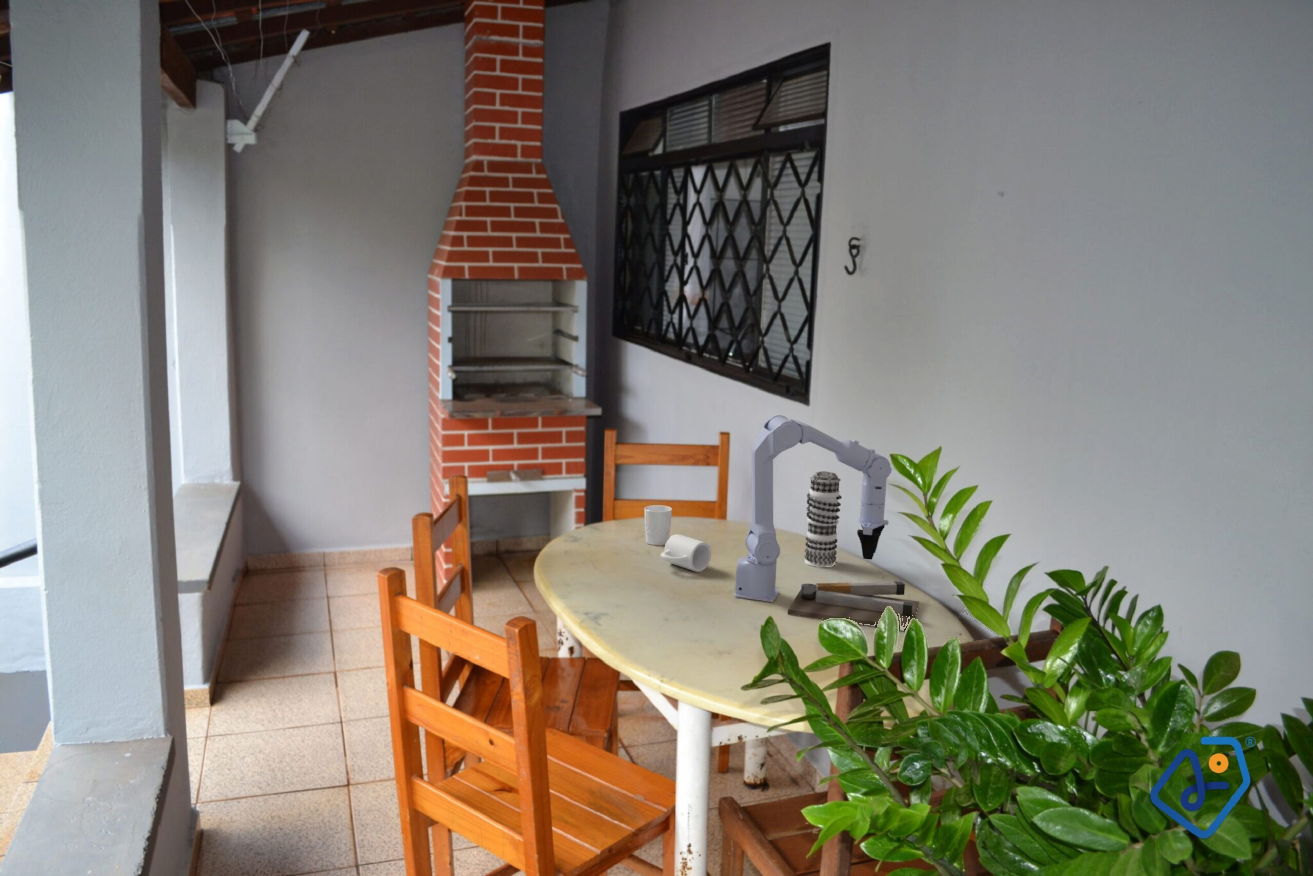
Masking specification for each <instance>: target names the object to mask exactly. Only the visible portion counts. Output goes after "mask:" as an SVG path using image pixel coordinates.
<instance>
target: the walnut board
mask: <svg viewBox="0 0 1313 876" xmlns="http://www.w3.org/2000/svg"><path fill="white" fill-rule="evenodd" d="M858 596H864V597H872V598H879V599H886V600H894V601H901V602H909V603H913V608H912V615H913V616H910V619H908V624H909V622H910V620H911V619H912V618H915V619H916V618H917V614H916V612H917V613H918V611H917V608H918V609H919V607H918V605H919V604H920V601H918V600H910V599H902V598H895V597H888V596H883V595H858ZM882 613H883V612H879V611H872V610H865V609H858V608H851V607H844V606H837V605H830V604H823V603H816V599H813V600H806V599H803V598H801V589H800V590H799V592H798V593H797V595H796V596H795V598H794V599H793V601H792V602H791V604H790V606H789V607H788V608H787V615H790V616H798V617H805V618H812V619H817V620H825V621H827V620H826V619H829V618H846V619H850V620H853V621H855V622H857V623H858V624H859V623H862V624H863V625H862V626H864V624H870V625H874V624H875V622H876V625H875V627H874V628H878V627H877V624H878V621H879V619H880V618H881V615H882ZM915 615H916V616H915ZM897 616H898V621H899V632H901V631H900V620H899V615H898V614H897ZM902 616H903V617H902ZM849 617H850V618H849ZM908 617H909V616H907V617H906V615H900V618H901V626H902V625H903V623H904V626H903V627H905V624H906V622H907V618H908ZM822 618H823V619H822ZM902 618H903V621H902ZM859 626H861V625H860V624H859ZM907 626H908V625H907ZM907 626H906V628H907ZM906 628H905V629H904V631H903V632H905V630H906Z"/></svg>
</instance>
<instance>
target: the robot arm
mask: <svg viewBox="0 0 1313 876" xmlns="http://www.w3.org/2000/svg"><path fill="white" fill-rule="evenodd" d="M799 443H800V445H804V444H807V443H812V444H814V445H816V446H817V447H821V448H823V449H825V450H827V451H830V452H831V453H833V454H834V455H835V457H836V460H837V461H838V462H839V463H842V464H844V465H846V466H848V467H850V468H852V469H854V470H856V471H858V472H861V473H862V484H861V486H862V487H861V497H860V498H861V499H860V511H859V512H860V513H859V518H858V522H859V524H860V525H861V528H862V529H859V528H858V529H857V532H856V534H857V537H858V538H859V542H860V546H861V554H862V559H864V560H871V561H872V560H873V558H874V555H875V554H876V551H877V549H878V548H877V547H878V543H879V540H880V537H881V535H882V532H883V530H884V529H885V527H886V526H888V525H889V524H890V523H889V522H890V521H889V520H887V519H885V507H886V492H887V480H888V477H890V475H891V473H892V472H893V471H892V470H893V468H892V467H891V463H890V461H889V459H888V458H886V457H885V456H882V455H881V454H879V453H877V452H876V450H875V449H873V448H871V447H870V448H866V447H865V446H863V445H860V442H859V441H858V440H856V439H852V440H850V439H845V440H841V441H840V440H838V439H836V438H834V437H832V436H830V434H829V435H828V434H827V433H825V432H823V431H821V430H819V429H817V428H814V427H813V426H811V425H810V424H807V423H805V422H801V421H798V420H796V419H794V418H793V419H792V418H790V419H789V418H788V417H787V416H784V415H781V414H777V415H774V416H772V417H770V418H769V419H768V420H767V421H766V422H764V423H763V424H762V427H761V432H760V433H759V435H758V436H757V438H756V440H755V442H754V444H753V446H752V448H751V451H750V452H751V522H750V523H749V524H748V533H747V534H746V537H745V541H744V542H745V547H746V549H747V550H748V551H749V552H748V554H747V555H746V557H739V559H738V560H737V565H736V571H735V590H734V597H736V598H742V599H747V600H748V599H749V600H756V601H763V602H769V603H770V602H771V603H773V602H774V601H775V599H776V598H777V596H778V595H779V594H780V590H779V589H776V580H777V579H776V578H777V562H778V561H777V560H778V558H779V556H780V555H781V547H780V544H779V543H778V540H777V533H776V528H775V524H774V459H776V458H777V457H778V455H780V454H781V453H782V452H785V451H787V450H789V449H792V448H794V447H795V446H797V445H798V444H799Z"/></svg>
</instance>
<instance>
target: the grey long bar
mask: <svg viewBox="0 0 1313 876" xmlns="http://www.w3.org/2000/svg"><path fill="white" fill-rule="evenodd" d="M816 603H823V604H830V605H837V606H844V607H851V608H858V609H865V610H872V611H879V612H884V610H885V608H886V607H887V606H891V607H892V608H893V610H894V611H895V613H896V614H898V613H899V614H900V615H906V616H912V608H913V603H909V602H901V601H894V600H886V599H879V598H872V597H864V596H857V595H850V594H843V593H835V592H828V591H821V590H818V591H817V592H816Z"/></svg>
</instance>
